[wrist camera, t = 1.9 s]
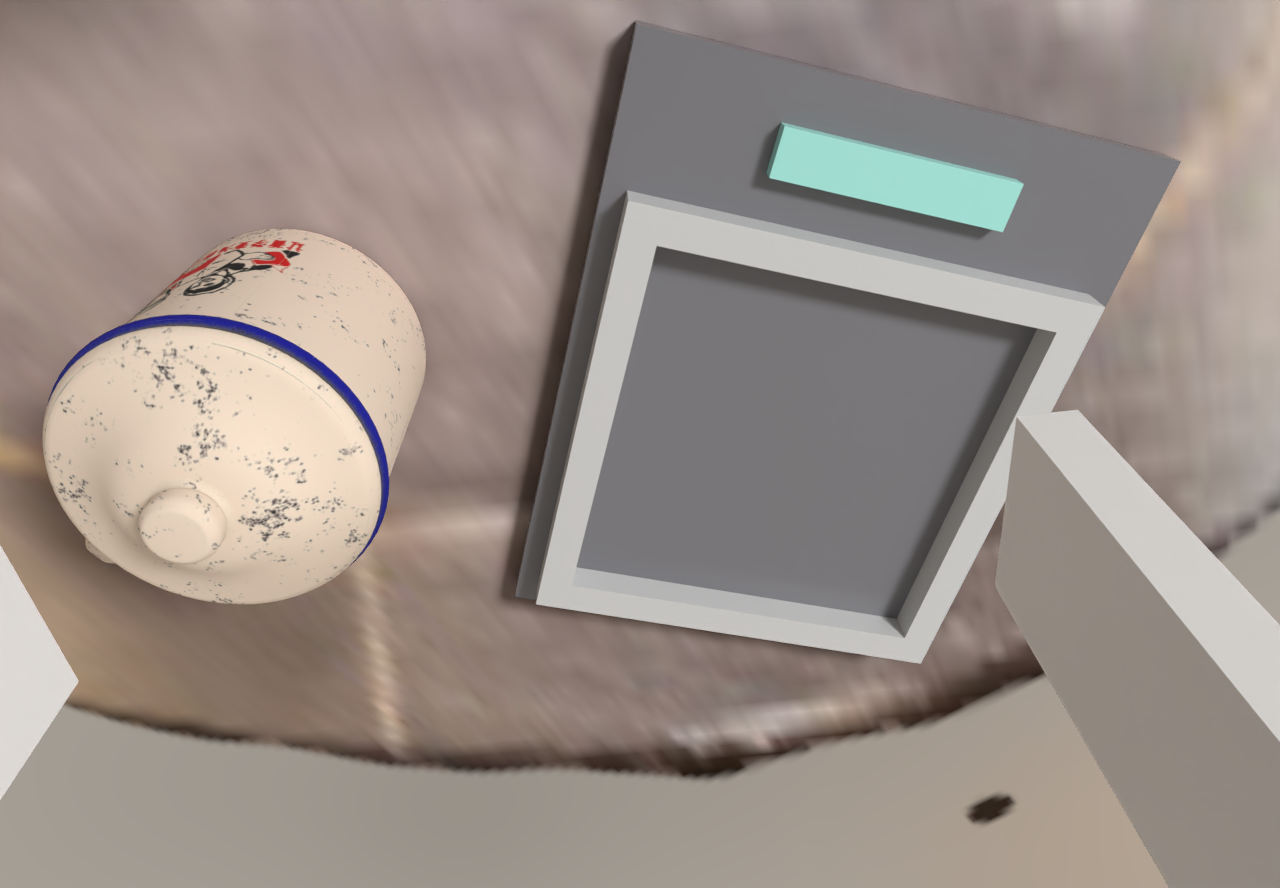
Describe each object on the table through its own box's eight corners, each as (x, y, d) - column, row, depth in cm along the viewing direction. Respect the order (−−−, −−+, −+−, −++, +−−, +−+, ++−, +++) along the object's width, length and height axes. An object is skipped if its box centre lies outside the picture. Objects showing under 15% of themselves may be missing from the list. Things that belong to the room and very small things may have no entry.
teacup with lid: (294, 161, 29) (137, 292, 19) (487, 361, 33) (439, 558, 23) (65, 371, 33) (-170, 576, 23) (264, 531, 37) (138, 767, 27)
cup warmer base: (516, 581, 38) (512, 616, 36) (635, 20, 28) (638, 28, 26) (915, 644, 41) (931, 679, 39) (1164, 154, 30) (1201, 170, 28)
